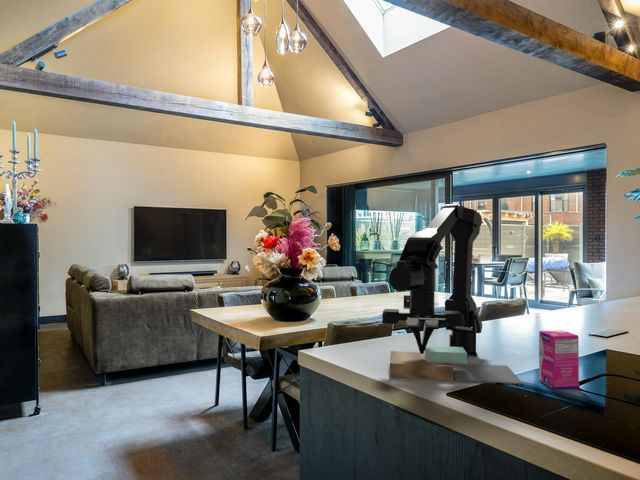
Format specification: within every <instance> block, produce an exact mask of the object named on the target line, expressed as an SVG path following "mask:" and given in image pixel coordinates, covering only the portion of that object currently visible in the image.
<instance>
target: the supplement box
mask: <svg viewBox="0 0 640 480" xmlns="http://www.w3.org/2000/svg"><path fill="white" fill-rule="evenodd" d="M538 350H539V351H538V352H539V353H538V373H539V374H538V378H539V379H538V380H539V381H538V382H540V383H542V384H544V385H545V386H548V387H549V386H550V387H549V388H551V387H552V388H553V389H552V388H551V389H552V390H554V389H562V390H579V389H580V379H579V378H580V377H579V375H580V373H579V370H580V369H579V367H580V363H579V359H580V358H579V357H580V355H579V335H578V334H576V333H572V332H568V331H566V330H563V329H557V330H553V329H552V330H538Z"/></svg>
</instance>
